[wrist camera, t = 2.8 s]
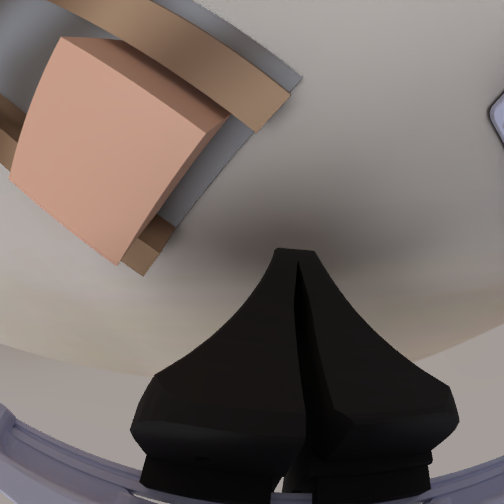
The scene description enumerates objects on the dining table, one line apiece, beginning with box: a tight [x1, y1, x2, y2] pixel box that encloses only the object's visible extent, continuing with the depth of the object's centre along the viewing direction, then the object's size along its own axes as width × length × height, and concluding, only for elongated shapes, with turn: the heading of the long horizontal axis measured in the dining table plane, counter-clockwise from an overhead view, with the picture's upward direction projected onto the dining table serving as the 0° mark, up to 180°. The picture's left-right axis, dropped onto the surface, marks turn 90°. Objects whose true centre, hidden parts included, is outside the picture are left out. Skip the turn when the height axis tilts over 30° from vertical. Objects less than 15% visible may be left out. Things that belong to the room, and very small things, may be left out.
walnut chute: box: [0, 0, 302, 276], centre depth 8 cm, size 18×10×2 cm, turn 51°
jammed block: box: [9, 37, 231, 266], centre depth 9 cm, size 5×5×4 cm
